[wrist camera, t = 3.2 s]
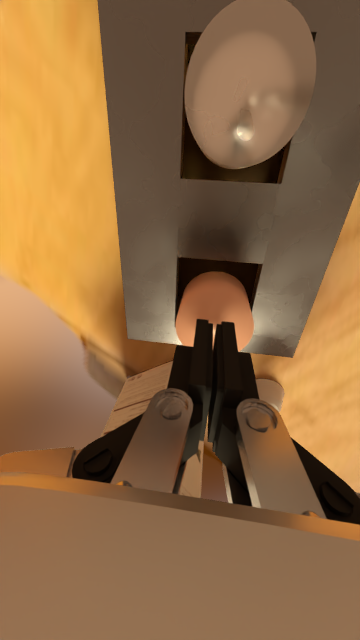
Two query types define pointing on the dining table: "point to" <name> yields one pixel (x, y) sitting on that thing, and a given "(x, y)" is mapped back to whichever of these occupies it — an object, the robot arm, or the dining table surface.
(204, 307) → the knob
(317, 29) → the knob housing
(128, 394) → the supplement box
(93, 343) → the dining table surface
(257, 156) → the middle knob
